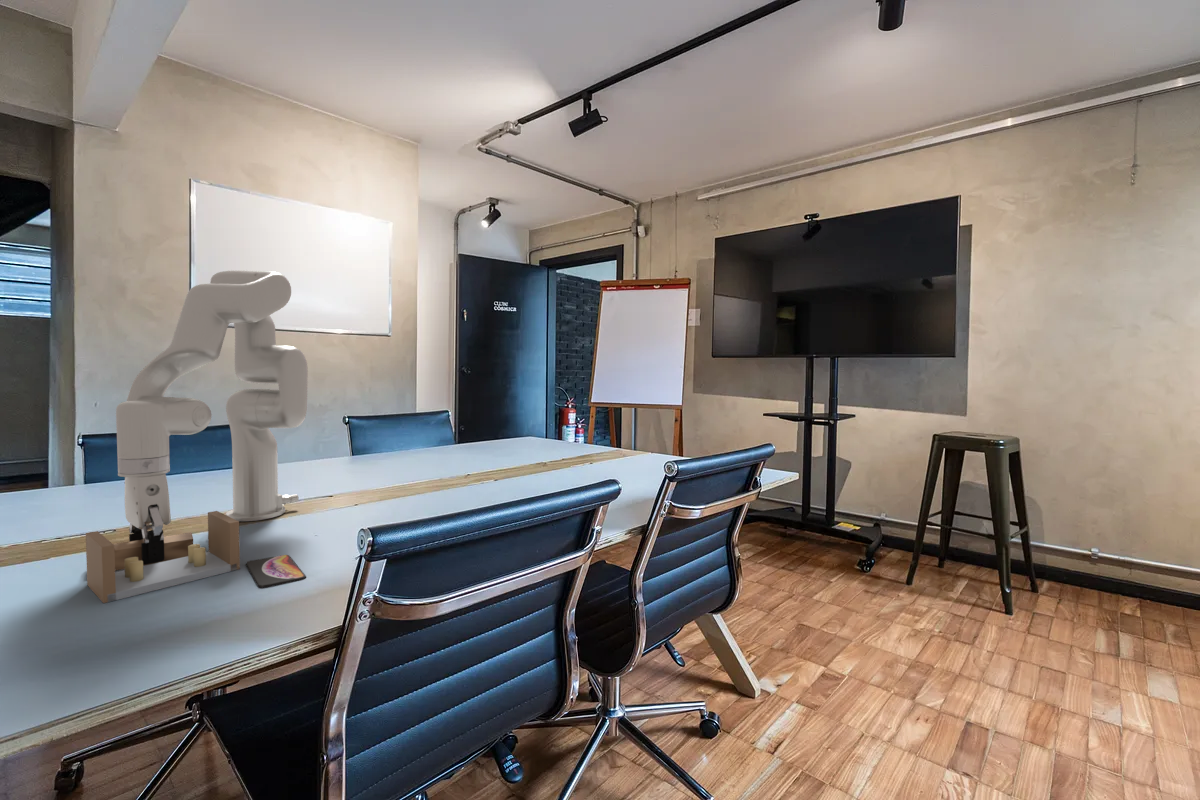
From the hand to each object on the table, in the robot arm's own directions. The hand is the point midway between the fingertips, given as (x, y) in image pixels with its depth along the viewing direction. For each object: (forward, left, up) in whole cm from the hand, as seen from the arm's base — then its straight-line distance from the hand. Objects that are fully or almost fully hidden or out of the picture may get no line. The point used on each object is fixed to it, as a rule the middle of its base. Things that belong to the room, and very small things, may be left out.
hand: (146, 556), depth 103 cm
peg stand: (0, +12, -1) cm, 12 cm away
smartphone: (-13, +23, -1) cm, 27 cm away
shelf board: (0, 0, -1) cm, 1 cm away
